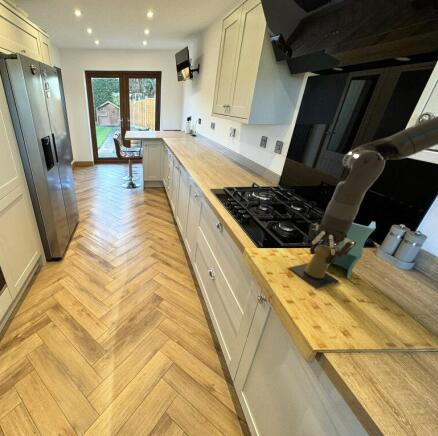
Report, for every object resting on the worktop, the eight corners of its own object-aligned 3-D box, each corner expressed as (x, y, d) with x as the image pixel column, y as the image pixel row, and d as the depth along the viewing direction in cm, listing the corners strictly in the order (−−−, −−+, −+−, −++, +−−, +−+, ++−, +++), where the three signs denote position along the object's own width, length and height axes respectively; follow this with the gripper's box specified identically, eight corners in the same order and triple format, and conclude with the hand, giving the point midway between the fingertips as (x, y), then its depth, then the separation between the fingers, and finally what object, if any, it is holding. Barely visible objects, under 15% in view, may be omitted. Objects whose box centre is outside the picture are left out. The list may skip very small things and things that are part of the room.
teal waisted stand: (351, 268, 89) (375, 222, 80) (349, 278, 84) (375, 229, 75) (326, 259, 94) (347, 214, 85) (323, 268, 88) (345, 221, 80)
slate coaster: (309, 263, 91) (310, 262, 91) (338, 282, 82) (339, 280, 82) (288, 268, 88) (289, 267, 88) (315, 288, 79) (316, 287, 78)
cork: (328, 276, 82) (341, 250, 78) (315, 279, 81) (327, 253, 76) (313, 266, 88) (324, 241, 83) (300, 268, 86) (310, 243, 81)
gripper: (373, 222, 69) (349, 268, 77) (326, 204, 81) (309, 245, 89) (356, 225, 67) (333, 273, 74) (310, 206, 79) (294, 248, 86)
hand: (320, 257), depth 81 cm, fingers closed on cork, 5 cm apart
